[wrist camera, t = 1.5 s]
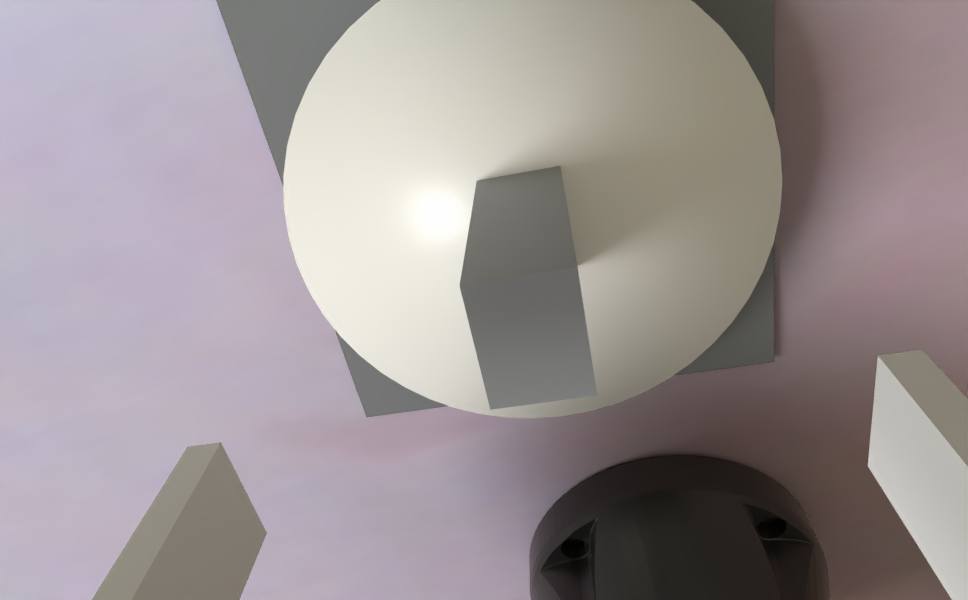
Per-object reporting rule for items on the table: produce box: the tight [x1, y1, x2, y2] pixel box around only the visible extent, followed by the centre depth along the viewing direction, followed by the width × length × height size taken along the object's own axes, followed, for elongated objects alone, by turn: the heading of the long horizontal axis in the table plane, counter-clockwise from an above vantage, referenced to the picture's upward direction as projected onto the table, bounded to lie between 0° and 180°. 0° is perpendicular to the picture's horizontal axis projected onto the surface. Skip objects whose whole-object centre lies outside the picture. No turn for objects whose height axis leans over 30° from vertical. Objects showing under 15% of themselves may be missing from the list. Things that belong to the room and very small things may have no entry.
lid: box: [283, 0, 783, 419], centre depth 23 cm, size 18×18×10 cm
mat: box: [216, 0, 774, 417], centre depth 27 cm, size 19×19×1 cm
